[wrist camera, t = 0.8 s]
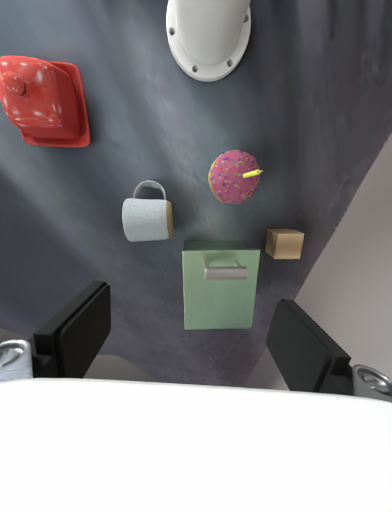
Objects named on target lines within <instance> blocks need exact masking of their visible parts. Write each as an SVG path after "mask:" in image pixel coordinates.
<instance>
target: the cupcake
mask: <svg viewBox="0 0 392 512" xmlns="http://www.w3.org/2000/svg"><path fill="white" fill-rule="evenodd" d="M258 164H259V163H257V160H256V159H255V157H253V156H251V155H249V154H248V153H246V152H244V151H242V150H229V151H227V152H225V153H223V154H222V155H220V156H219V157H218V158H217V159H216V160H215V161H214V162H213V164H212V166H211V169H210V171H209V175H208V180H209V185H210V188H211V190H212V191H213V193H214V195H215V197H216V198H217V199H218V200H219V201H221V202H224V203H229V204H231V203H232V204H239V203H241V202H243V201H244V200H245V199H247V198H249V197H250V196H252V194H253V193H254V191H255V190H256V188H257V185H258V183H259V175H260V173H261V172H263V170H261V171H260V168H259V165H258Z"/></svg>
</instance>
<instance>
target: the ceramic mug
mask: <svg viewBox="0 0 392 512" xmlns="http://www.w3.org/2000/svg"><path fill="white" fill-rule="evenodd" d="M144 187H154V188H156V189H157V188H159V189H160V190H161V191H162V192H163V195H164V200H159V199H154V200H150V199H137V196H138V193H139V191H140V190H141V189H142V188H144ZM122 219H123V227H124V232H125V235H126V237H127V239H128V240H129V241H131V242H134V241H150V240H164V239H169V238H171V237H172V236H173V212H172V204H171V203H170V202H169V201H167V198H166V194H165V191H164V188H163V187H162V186H161V185H160V184H159V183H157V182H154V181H144V182H141V183H140V184H139V185H138V186H137V187H136V189H135V191H134V194H133V199H126V200H125V201H124V204H123V211H122Z"/></svg>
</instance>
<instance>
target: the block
mask: <svg viewBox="0 0 392 512" xmlns="http://www.w3.org/2000/svg"><path fill="white" fill-rule="evenodd" d="M303 239H304V233H301V232H298V231H295V230H293V229H268V230H267V238H266V246H265V252H266V253H268V254H269V255H270V256H271V257H273V258H274V259H300V254H301V249H302V244H303Z"/></svg>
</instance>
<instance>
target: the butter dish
mask: <svg viewBox="0 0 392 512" xmlns="http://www.w3.org/2000/svg"><path fill="white" fill-rule="evenodd" d="M0 101H1V104H2V106H3V109H4V111H5V113H6V115H7V117H8V119H9V120H10V121H11V122H12V123H13V124H14V125H15V126H17V127H18V128H19V130H20V133H21V135H22V138H23V140H24V141H25V142H26V143H27V144H30V145H38V146H54V147H85V146H88V145H89V144H90V131H89V123H88V116H87V109H86V103H85V96H84V89H83V83H82V78H81V74H80V71H79V69H78V67H77V66H76V65H74V64H71V63H63V62H54V61H44V60H40V59H37V58H31V57H23V56H3V57H0Z"/></svg>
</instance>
